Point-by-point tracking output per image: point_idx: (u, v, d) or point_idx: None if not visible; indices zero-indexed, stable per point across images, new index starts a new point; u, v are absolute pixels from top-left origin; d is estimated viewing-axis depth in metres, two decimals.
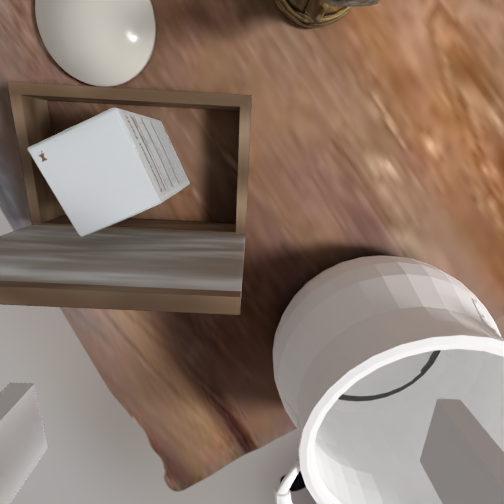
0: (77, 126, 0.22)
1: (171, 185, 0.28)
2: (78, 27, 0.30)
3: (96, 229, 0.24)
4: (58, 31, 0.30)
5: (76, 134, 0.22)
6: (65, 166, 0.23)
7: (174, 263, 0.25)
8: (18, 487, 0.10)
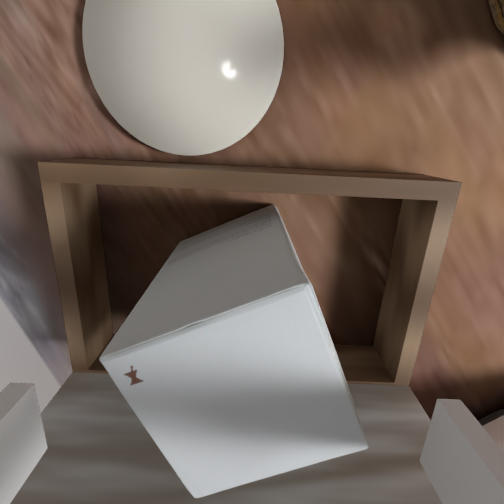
0: (215, 320, 0.10)
1: None
2: (154, 62, 0.18)
3: (228, 487, 0.12)
4: (120, 68, 0.18)
5: (212, 335, 0.10)
6: (180, 393, 0.11)
7: None
8: (17, 487, 0.10)
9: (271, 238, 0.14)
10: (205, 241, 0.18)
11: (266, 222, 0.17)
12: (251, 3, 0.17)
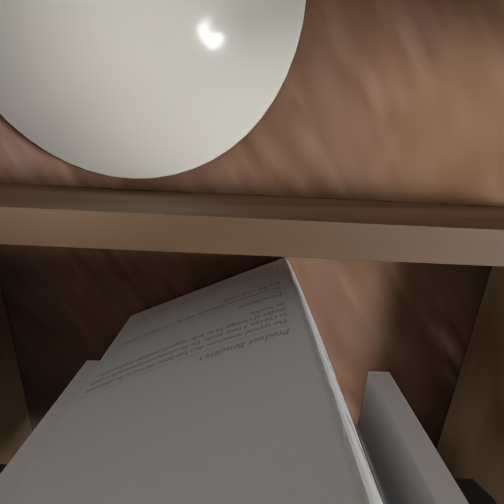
0: None
1: None
2: (64, 6, 0.09)
3: None
4: (0, 18, 0.10)
5: None
6: None
7: None
8: None
9: (292, 394, 0.06)
10: (163, 337, 0.10)
11: (276, 313, 0.09)
12: None
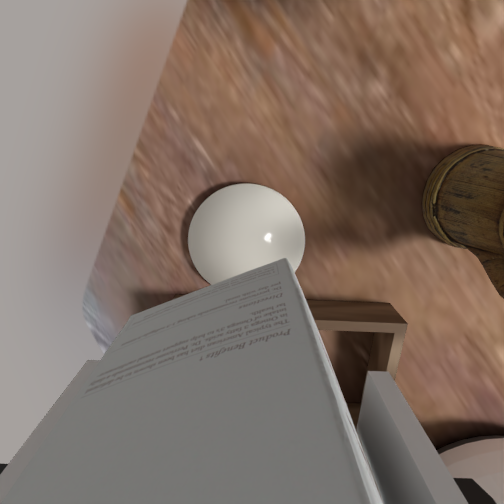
0: None
1: None
2: (229, 248, 0.30)
3: None
4: (208, 251, 0.30)
5: None
6: None
7: None
8: None
9: (293, 395, 0.06)
10: (163, 337, 0.10)
11: (277, 314, 0.09)
12: (286, 220, 0.29)
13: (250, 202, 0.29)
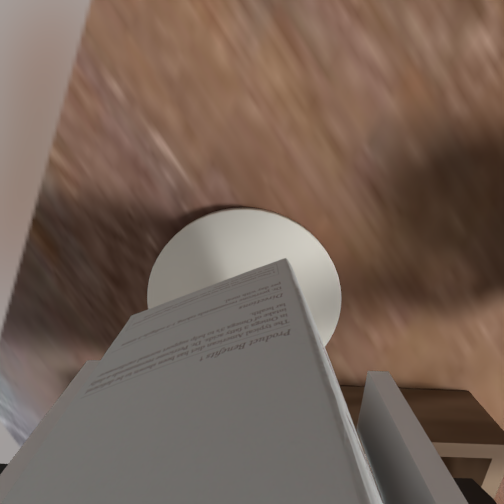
0: None
1: None
2: None
3: None
4: None
5: None
6: None
7: None
8: None
9: (293, 395, 0.06)
10: (163, 338, 0.10)
11: (277, 314, 0.09)
12: (311, 270, 0.17)
13: (250, 240, 0.17)
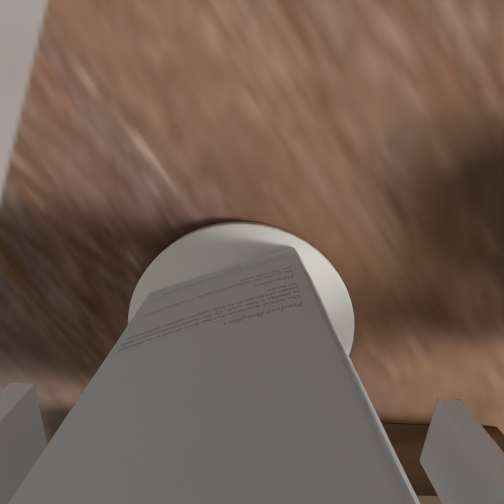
0: None
1: None
2: None
3: None
4: None
5: None
6: None
7: None
8: (18, 487, 0.10)
9: (308, 347, 0.07)
10: (185, 309, 0.11)
11: (289, 291, 0.10)
12: (320, 294, 0.15)
13: (248, 260, 0.14)
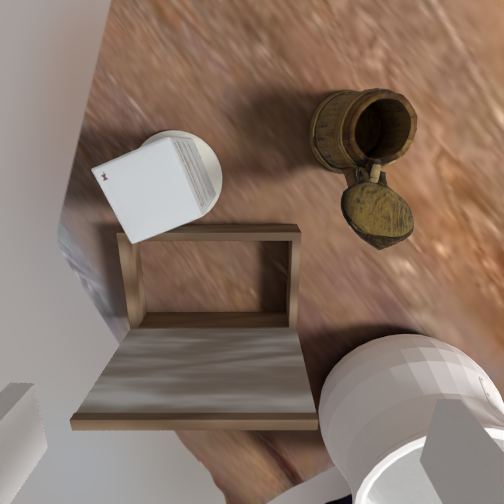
0: (135, 151, 0.26)
1: (206, 199, 0.32)
2: None
3: (145, 238, 0.29)
4: None
5: (134, 158, 0.26)
6: (123, 184, 0.27)
7: (257, 377, 0.34)
8: (18, 486, 0.10)
9: None
10: None
11: None
12: (205, 158, 0.38)
13: None
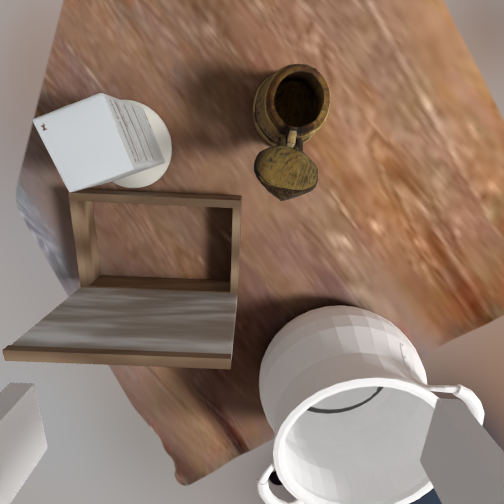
0: (71, 105, 0.29)
1: (145, 159, 0.35)
2: None
3: (82, 187, 0.31)
4: None
5: (70, 111, 0.29)
6: (60, 135, 0.30)
7: (187, 327, 0.36)
8: (17, 487, 0.10)
9: None
10: None
11: None
12: (155, 127, 0.41)
13: None
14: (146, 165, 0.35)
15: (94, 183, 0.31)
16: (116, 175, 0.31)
